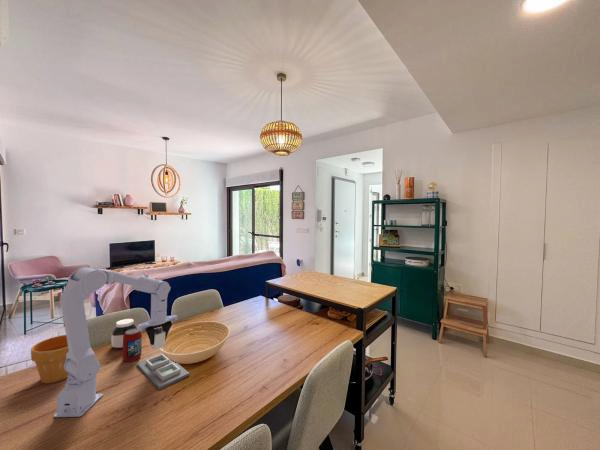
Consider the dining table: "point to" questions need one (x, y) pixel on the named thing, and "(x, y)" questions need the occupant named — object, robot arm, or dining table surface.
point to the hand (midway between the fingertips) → (158, 342)
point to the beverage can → (132, 344)
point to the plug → (159, 339)
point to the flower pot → (51, 358)
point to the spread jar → (121, 332)
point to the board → (162, 370)
